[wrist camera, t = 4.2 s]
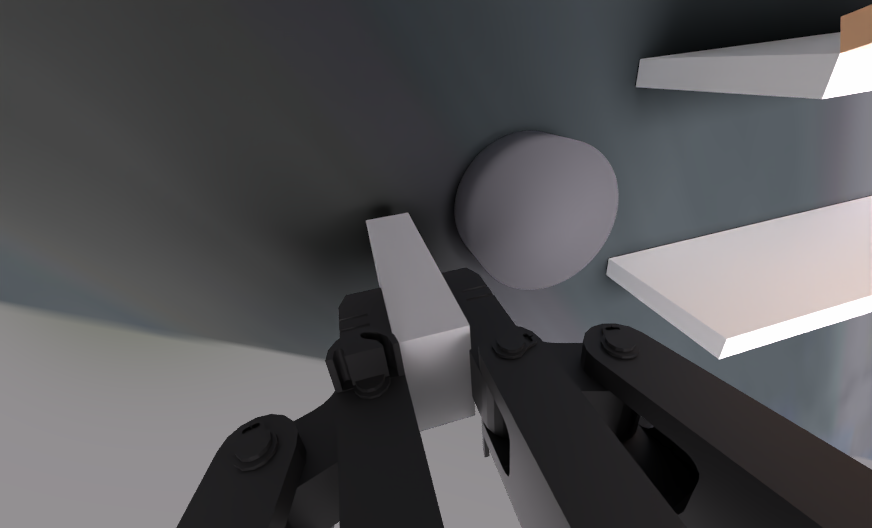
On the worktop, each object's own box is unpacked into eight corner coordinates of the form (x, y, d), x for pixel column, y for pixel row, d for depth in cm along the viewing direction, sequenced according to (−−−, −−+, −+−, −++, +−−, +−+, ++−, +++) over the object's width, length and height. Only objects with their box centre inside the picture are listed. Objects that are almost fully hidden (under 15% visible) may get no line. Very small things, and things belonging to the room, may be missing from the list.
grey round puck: (440, 153, 14) (458, 166, 12) (578, 112, 15) (620, 117, 13) (467, 279, 17) (487, 308, 15) (582, 240, 18) (617, 263, 15)
